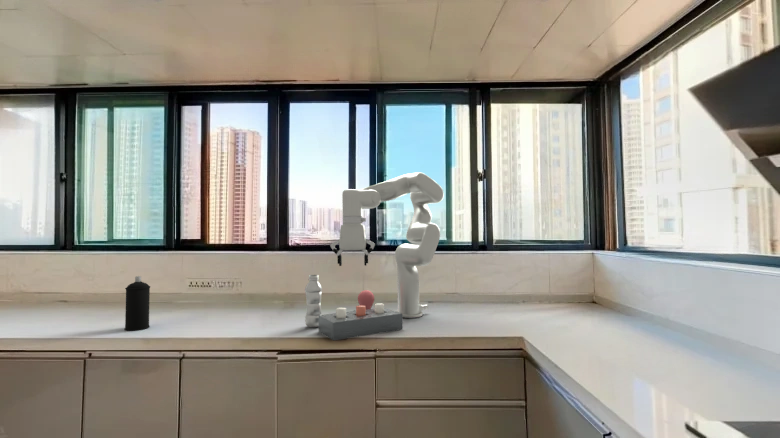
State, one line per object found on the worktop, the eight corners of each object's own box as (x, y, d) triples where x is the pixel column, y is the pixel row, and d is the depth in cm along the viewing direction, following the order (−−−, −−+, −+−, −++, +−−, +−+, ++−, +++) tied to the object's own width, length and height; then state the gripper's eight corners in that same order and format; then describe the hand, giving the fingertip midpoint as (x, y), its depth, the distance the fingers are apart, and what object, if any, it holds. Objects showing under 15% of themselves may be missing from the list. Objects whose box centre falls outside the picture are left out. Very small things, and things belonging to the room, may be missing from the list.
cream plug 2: (381, 318, 150) (381, 303, 151) (385, 320, 147) (385, 304, 148) (373, 319, 149) (373, 303, 149) (377, 321, 145) (377, 305, 146)
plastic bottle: (318, 329, 146) (318, 276, 147) (302, 328, 147) (302, 276, 148) (324, 325, 152) (325, 274, 153) (308, 324, 154) (309, 274, 154)
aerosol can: (154, 327, 151) (155, 275, 151) (132, 332, 143) (134, 278, 144) (141, 325, 154) (142, 275, 155) (119, 329, 147) (120, 277, 147)
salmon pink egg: (363, 320, 146) (362, 305, 146) (367, 322, 143) (367, 306, 143) (354, 322, 144) (354, 306, 145) (358, 324, 141) (358, 307, 142)
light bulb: (354, 319, 162) (354, 291, 162) (362, 316, 169) (362, 288, 169) (370, 321, 159) (370, 291, 160) (377, 317, 166) (377, 289, 166)
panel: (383, 322, 157) (383, 307, 157) (402, 329, 145) (402, 313, 145) (318, 331, 142) (318, 315, 143) (333, 340, 130) (333, 322, 131)
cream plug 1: (343, 323, 142) (343, 307, 142) (347, 325, 139) (347, 308, 139) (334, 324, 140) (334, 308, 141) (338, 326, 137) (338, 309, 137)
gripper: (374, 221, 153) (375, 264, 153) (331, 221, 152) (331, 265, 152) (374, 220, 146) (375, 266, 145) (328, 221, 145) (329, 266, 144)
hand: (352, 265), depth 148 cm, fingers open, 9 cm apart
